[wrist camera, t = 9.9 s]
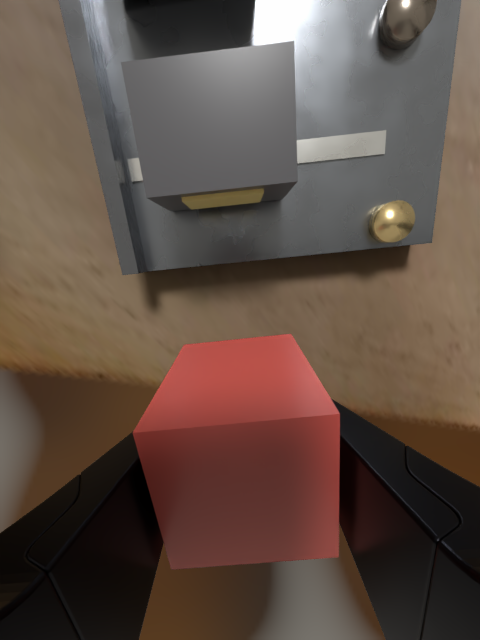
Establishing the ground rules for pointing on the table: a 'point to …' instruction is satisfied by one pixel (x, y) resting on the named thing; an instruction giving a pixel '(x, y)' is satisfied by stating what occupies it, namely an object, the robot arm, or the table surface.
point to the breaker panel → (311, 123)
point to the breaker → (215, 125)
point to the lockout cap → (242, 455)
